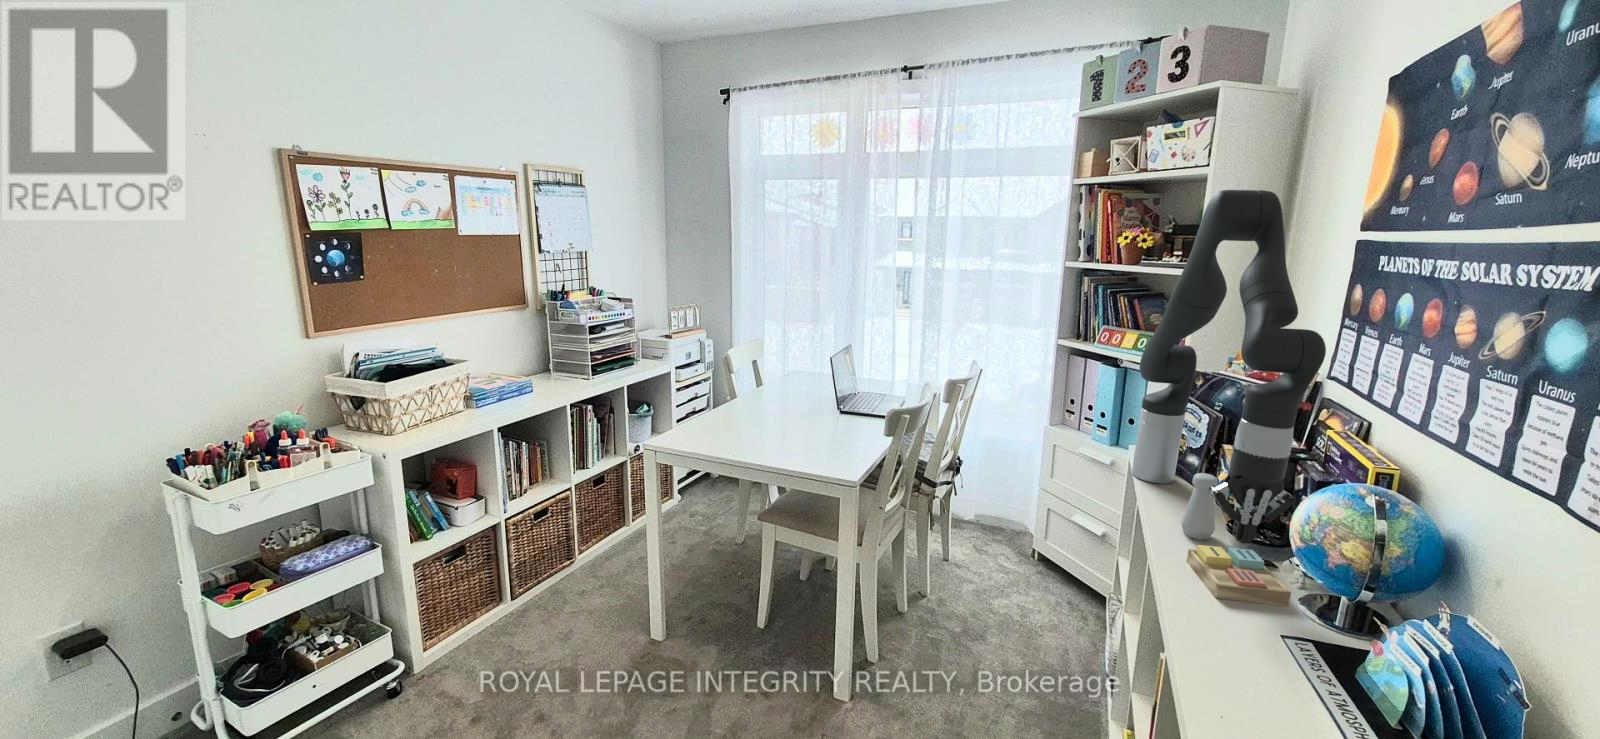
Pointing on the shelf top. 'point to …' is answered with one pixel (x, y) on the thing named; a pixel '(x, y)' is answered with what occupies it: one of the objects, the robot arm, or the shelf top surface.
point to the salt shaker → (1200, 508)
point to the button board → (1229, 590)
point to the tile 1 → (1213, 556)
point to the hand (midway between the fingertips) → (1241, 541)
